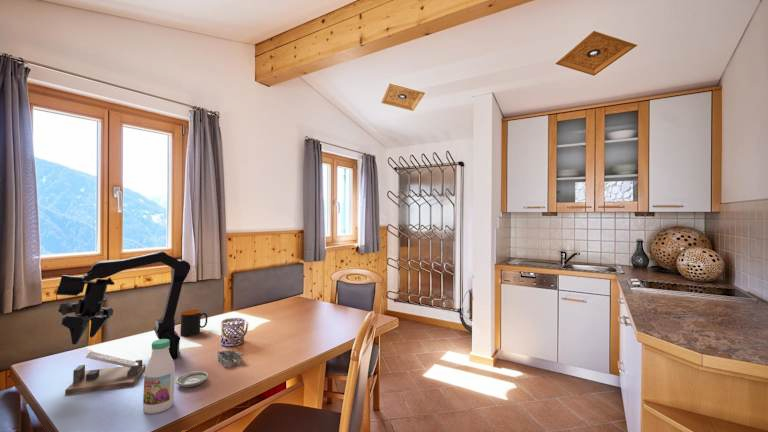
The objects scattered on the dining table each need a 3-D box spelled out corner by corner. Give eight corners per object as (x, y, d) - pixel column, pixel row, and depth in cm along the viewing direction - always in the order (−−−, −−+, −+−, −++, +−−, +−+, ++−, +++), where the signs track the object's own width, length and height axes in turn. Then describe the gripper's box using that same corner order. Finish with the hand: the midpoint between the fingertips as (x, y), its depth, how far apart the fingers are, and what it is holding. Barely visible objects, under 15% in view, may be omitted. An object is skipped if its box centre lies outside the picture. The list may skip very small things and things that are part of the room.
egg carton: (243, 364, 132) (244, 354, 132) (223, 369, 127) (223, 359, 127) (235, 355, 140) (235, 345, 140) (215, 360, 136) (216, 349, 136)
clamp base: (145, 368, 126) (146, 353, 126) (133, 385, 113) (133, 369, 113) (85, 374, 119) (86, 359, 119) (65, 394, 106) (65, 377, 106)
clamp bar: (139, 366, 121) (141, 362, 121) (136, 369, 118) (138, 366, 118) (89, 354, 115) (91, 350, 116) (85, 358, 113) (87, 354, 113)
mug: (210, 331, 167) (211, 311, 167) (184, 338, 157) (185, 316, 157) (203, 328, 172) (204, 307, 172) (177, 333, 162) (178, 312, 162)
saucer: (173, 393, 109) (173, 386, 110) (178, 380, 118) (178, 373, 118) (206, 388, 113) (206, 381, 113) (208, 375, 122) (209, 369, 122)
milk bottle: (152, 400, 105) (155, 336, 105) (178, 400, 105) (180, 336, 105) (136, 414, 97) (139, 346, 97) (164, 414, 98) (167, 346, 98)
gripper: (86, 289, 128) (75, 331, 126) (48, 297, 110) (35, 346, 108) (118, 293, 130) (108, 334, 129) (87, 301, 112) (75, 349, 110)
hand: (83, 340), depth 119 cm, fingers open, 9 cm apart
